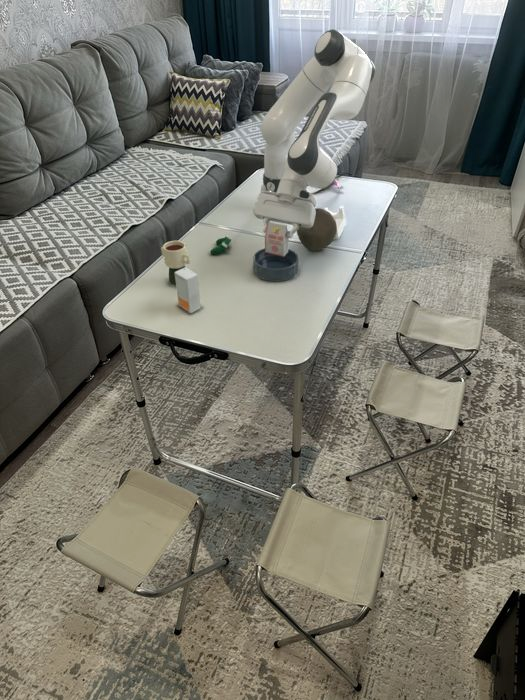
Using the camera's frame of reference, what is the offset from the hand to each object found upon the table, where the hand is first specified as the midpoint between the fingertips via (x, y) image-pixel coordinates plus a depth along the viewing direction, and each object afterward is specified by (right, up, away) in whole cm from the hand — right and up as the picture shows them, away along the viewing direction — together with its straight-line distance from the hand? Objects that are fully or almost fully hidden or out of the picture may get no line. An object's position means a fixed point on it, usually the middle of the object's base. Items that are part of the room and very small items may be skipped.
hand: (277, 235), depth 163 cm
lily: (+26, +33, +61) cm, 75 cm away
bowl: (0, -10, +8) cm, 13 cm away
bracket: (+21, +8, +30) cm, 38 cm away
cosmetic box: (-27, -24, -8) cm, 37 cm away
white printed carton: (0, -5, +4) cm, 6 cm away
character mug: (-32, -15, +3) cm, 36 cm away
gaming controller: (-20, -1, +20) cm, 28 cm away
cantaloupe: (+14, -1, +19) cm, 24 cm away
